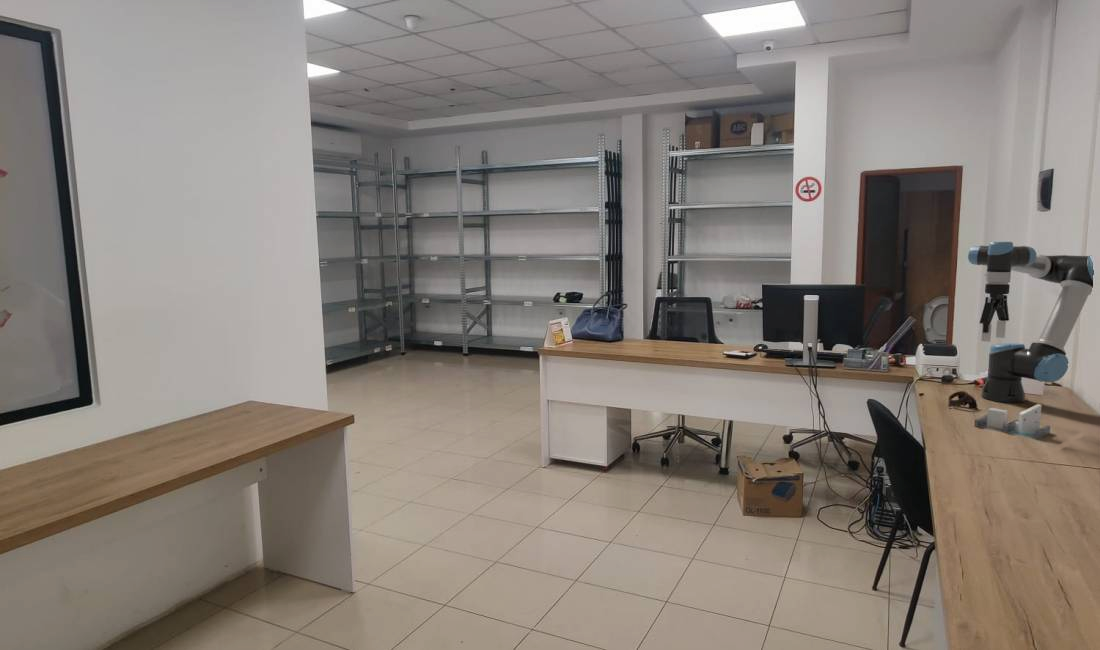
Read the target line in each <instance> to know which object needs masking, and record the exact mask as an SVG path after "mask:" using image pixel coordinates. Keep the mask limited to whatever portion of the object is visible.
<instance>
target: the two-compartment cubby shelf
mask: <svg viewBox="0 0 1100 650" xmlns="http://www.w3.org/2000/svg"><path fill="white" fill-rule="evenodd" d="M987 415H988V413H986V414H984V415H982V416H980V417H978V418H976V419H974V427H975V428H980V429H986V430H991V431H996V432H1001V433H1005V434H1009V435H1013V436H1014V435H1015V436H1020V437H1024V438H1025V437H1026V438H1030V439H1035V440H1039V439H1042V438H1043V437H1045V436H1047V435H1049V434H1051V425H1047V424H1046V425H1045V426H1043V427H1041V428H1039V430H1037V431H1035V434H1020V433H1018V432H1016V431H1014V430H1015V422H1019V419H1015V420H1013V421H1011V422H1009V423H1008V422H1007V424H1006V425H1004V429H1000V428H995V427H990V426H987Z"/></svg>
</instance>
